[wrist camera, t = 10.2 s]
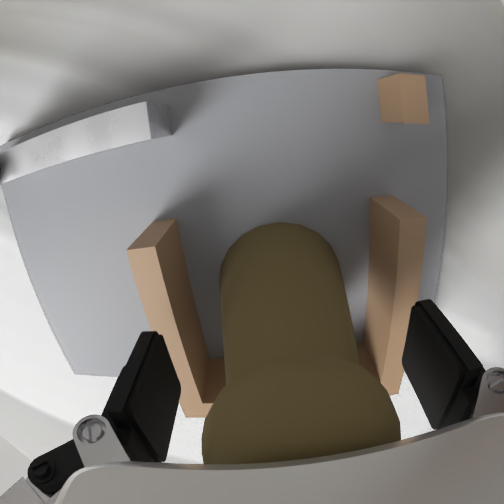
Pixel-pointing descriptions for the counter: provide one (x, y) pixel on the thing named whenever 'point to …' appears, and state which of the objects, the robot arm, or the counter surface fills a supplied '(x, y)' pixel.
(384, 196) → the dock
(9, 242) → the counter surface
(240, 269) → the cork
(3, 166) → the bar
